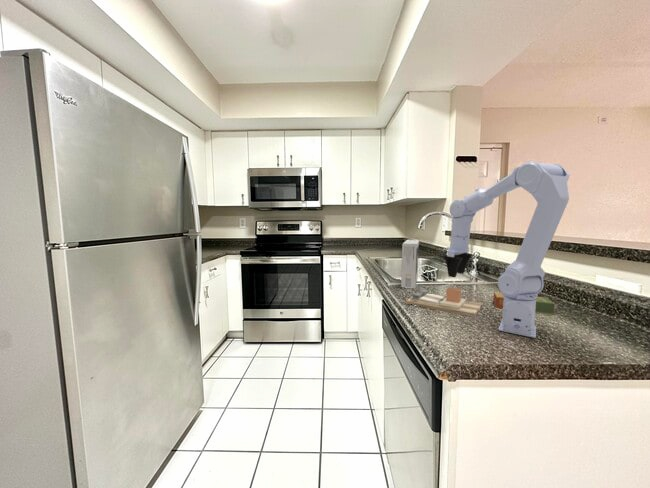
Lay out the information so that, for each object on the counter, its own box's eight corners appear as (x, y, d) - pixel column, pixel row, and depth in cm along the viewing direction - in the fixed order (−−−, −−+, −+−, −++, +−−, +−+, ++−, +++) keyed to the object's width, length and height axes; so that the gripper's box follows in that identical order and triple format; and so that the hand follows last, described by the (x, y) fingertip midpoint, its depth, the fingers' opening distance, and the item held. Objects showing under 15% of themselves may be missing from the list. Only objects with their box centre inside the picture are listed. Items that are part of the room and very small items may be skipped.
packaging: (415, 289, 120) (417, 243, 118) (400, 288, 122) (402, 243, 120) (417, 277, 148) (419, 239, 146) (405, 276, 150) (406, 239, 148)
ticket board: (474, 317, 85) (475, 306, 85) (405, 303, 98) (405, 295, 98) (481, 306, 96) (482, 297, 96) (418, 295, 109) (418, 287, 109)
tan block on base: (459, 308, 89) (460, 293, 89) (440, 305, 93) (440, 290, 92) (465, 301, 97) (466, 287, 97) (447, 298, 101) (448, 285, 100)
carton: (492, 302, 102) (493, 291, 102) (547, 309, 95) (547, 296, 95) (495, 308, 94) (496, 296, 94) (554, 316, 88) (555, 302, 87)
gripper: (455, 233, 102) (452, 269, 104) (439, 236, 92) (436, 275, 94) (476, 235, 97) (472, 273, 99) (461, 238, 87) (457, 280, 89)
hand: (456, 274), depth 96 cm, fingers open, 7 cm apart
